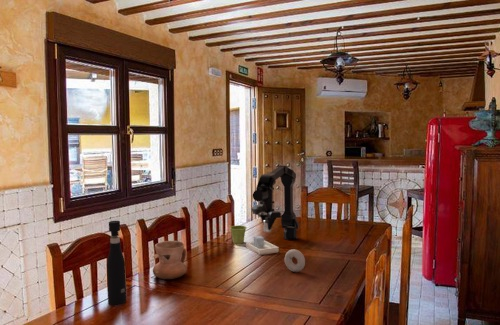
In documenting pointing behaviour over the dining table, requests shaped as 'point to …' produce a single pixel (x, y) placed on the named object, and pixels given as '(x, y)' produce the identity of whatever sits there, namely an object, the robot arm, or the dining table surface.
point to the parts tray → (263, 248)
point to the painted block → (258, 241)
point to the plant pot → (238, 234)
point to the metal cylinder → (265, 226)
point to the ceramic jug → (170, 260)
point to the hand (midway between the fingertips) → (267, 229)
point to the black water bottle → (116, 268)
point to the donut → (300, 260)
